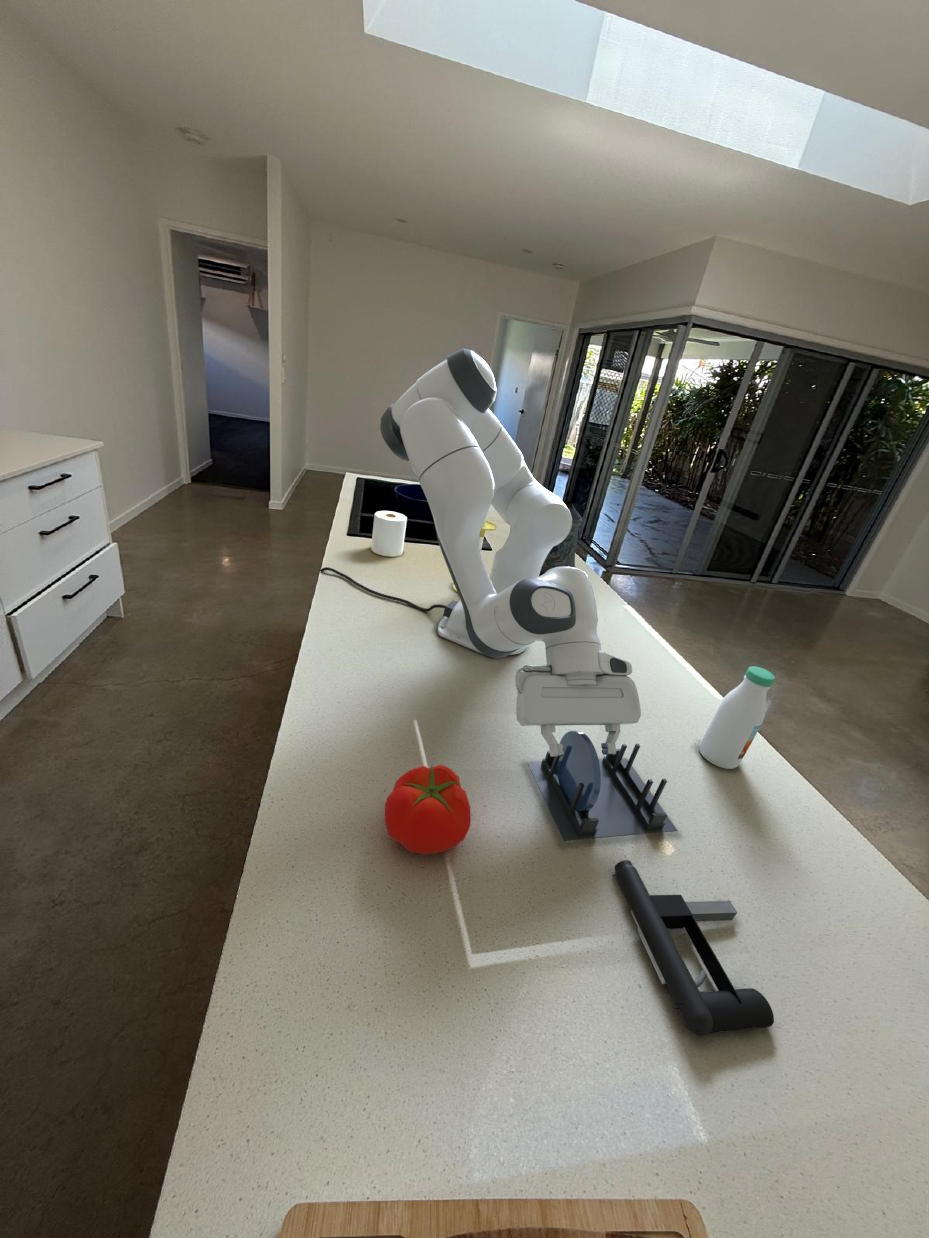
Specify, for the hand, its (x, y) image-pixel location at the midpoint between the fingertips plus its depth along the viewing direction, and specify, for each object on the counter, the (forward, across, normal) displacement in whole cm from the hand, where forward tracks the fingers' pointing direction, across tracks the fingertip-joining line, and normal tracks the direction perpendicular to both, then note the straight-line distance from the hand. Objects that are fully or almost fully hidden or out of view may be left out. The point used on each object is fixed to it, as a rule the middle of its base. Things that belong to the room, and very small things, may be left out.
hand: (583, 755), depth 77 cm
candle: (-50, +4, +64) cm, 81 cm away
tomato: (+10, -24, +5) cm, 26 cm away
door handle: (+24, +8, -9) cm, 27 cm away
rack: (+7, +6, +8) cm, 12 cm away
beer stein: (-62, +36, +77) cm, 106 cm away
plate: (+6, 0, +7) cm, 9 cm away
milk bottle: (+1, +38, +14) cm, 40 cm away
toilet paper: (-68, -18, +83) cm, 109 cm away
